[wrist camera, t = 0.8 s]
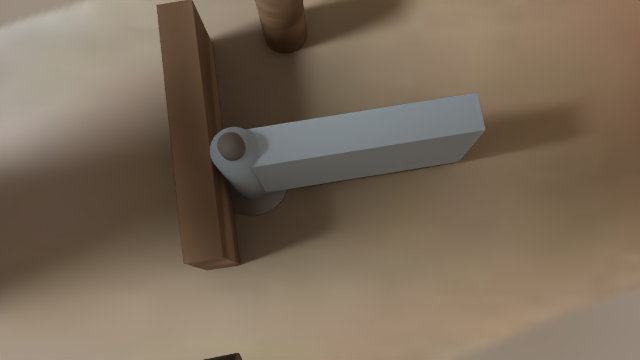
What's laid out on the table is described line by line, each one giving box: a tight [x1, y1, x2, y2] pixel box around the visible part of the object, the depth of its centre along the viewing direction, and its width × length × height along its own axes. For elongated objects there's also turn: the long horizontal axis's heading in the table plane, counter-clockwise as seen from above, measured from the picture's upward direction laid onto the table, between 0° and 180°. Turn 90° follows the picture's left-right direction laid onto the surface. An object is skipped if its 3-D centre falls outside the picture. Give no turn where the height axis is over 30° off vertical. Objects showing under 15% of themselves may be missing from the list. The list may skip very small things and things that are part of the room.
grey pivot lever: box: [210, 93, 486, 199], centre depth 35 cm, size 15×3×8 cm, turn 99°
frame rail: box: [157, 0, 287, 270], centre depth 35 cm, size 6×16×9 cm, turn 9°
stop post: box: [255, 0, 306, 54], centre depth 38 cm, size 3×3×7 cm
